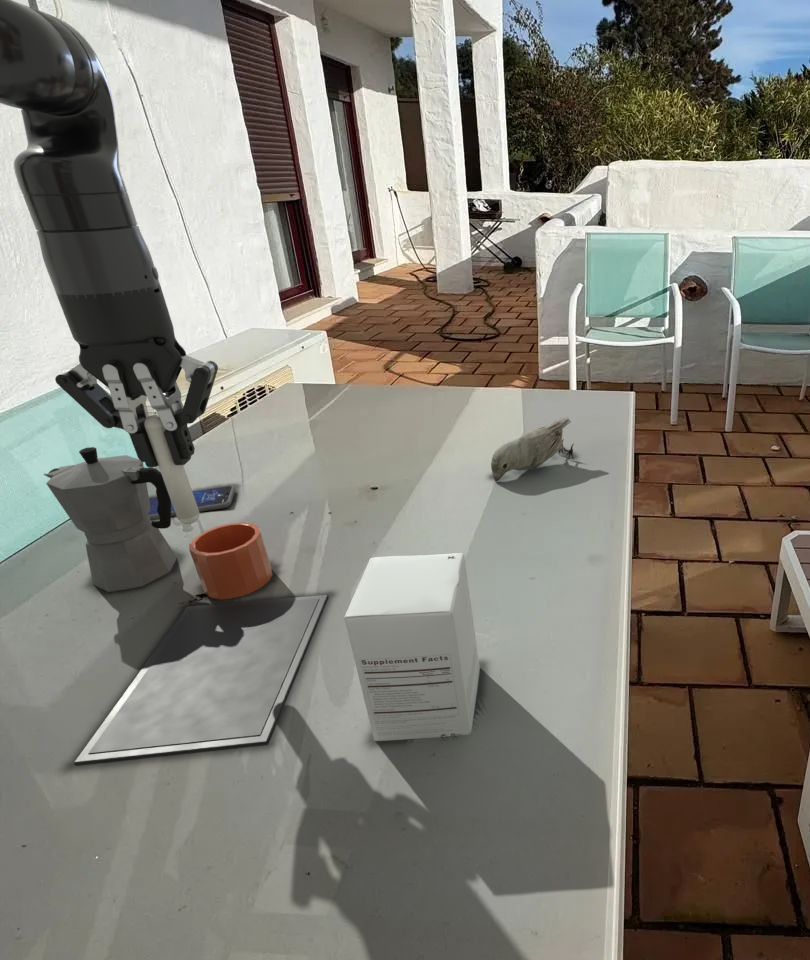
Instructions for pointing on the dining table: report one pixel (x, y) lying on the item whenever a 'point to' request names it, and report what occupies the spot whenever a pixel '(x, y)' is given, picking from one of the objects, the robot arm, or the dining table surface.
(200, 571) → the pen pot
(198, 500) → the smartphone
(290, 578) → the dining table surface
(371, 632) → the rectangular carton
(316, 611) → the tablet
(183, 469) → the off-white long cylinder
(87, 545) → the coffeepot
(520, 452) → the decorative bird
